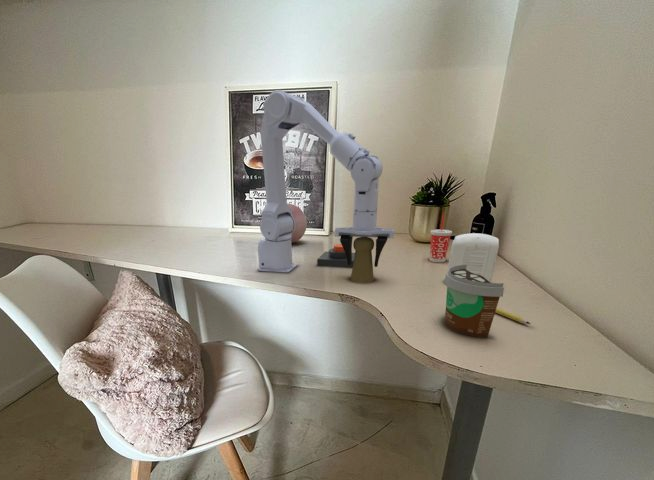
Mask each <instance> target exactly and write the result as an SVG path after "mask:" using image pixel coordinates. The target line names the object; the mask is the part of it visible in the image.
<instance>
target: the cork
mask: <svg viewBox="0 0 654 480" xmlns="http://www.w3.org/2000/svg"><path fill="white" fill-rule="evenodd" d="M352 247H353V249H354V253H355V256H354V262H353V268H351V274H350V280H351V281H352V282H355V283H371V282H373V281H374V280H375V279H374V277H375V276H374V266H373V265H374V263H373V249H374V248H375V241H374V238H373V237H355V239H354V240H353V242H352Z"/></svg>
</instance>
